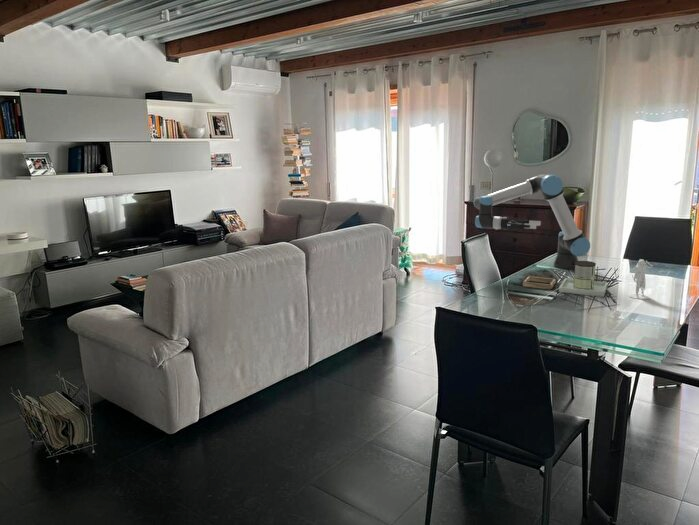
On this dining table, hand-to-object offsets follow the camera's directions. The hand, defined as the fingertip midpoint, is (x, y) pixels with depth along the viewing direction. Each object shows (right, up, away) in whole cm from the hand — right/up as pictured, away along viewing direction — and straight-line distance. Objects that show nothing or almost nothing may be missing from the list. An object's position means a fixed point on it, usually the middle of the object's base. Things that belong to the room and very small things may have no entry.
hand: (538, 224), depth 306 cm
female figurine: (+37, -40, -36) cm, 66 cm away
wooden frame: (-2, -34, -7) cm, 35 cm away
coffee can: (+18, -36, -19) cm, 44 cm away
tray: (+18, -37, -19) cm, 45 cm away
